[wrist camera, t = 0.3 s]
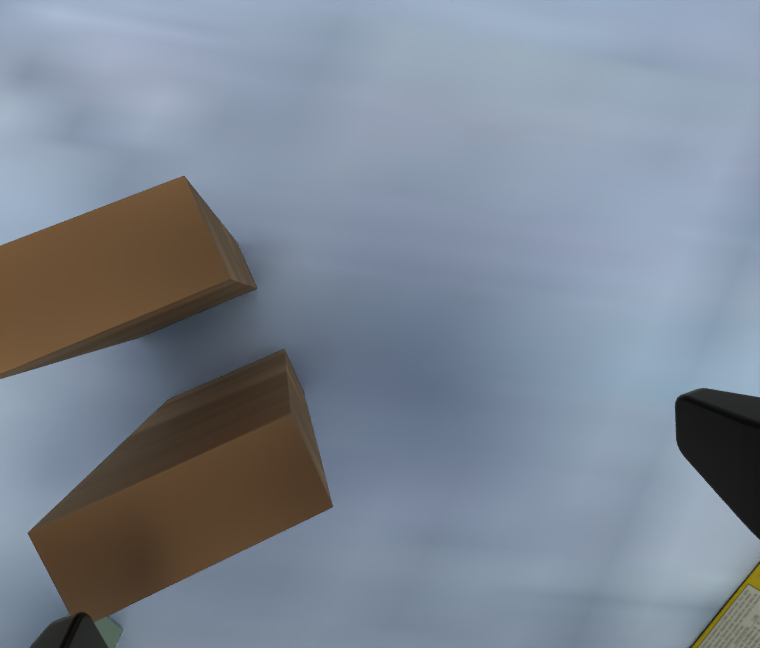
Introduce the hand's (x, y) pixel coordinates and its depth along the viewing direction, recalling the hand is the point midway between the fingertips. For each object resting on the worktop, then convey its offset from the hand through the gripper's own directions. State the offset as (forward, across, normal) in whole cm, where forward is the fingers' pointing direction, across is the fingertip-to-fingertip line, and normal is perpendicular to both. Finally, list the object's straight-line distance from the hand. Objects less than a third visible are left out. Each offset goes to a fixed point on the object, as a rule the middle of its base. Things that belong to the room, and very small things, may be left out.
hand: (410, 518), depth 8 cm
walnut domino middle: (+15, +4, +4) cm, 16 cm away
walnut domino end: (+17, +4, 0) cm, 17 cm away
